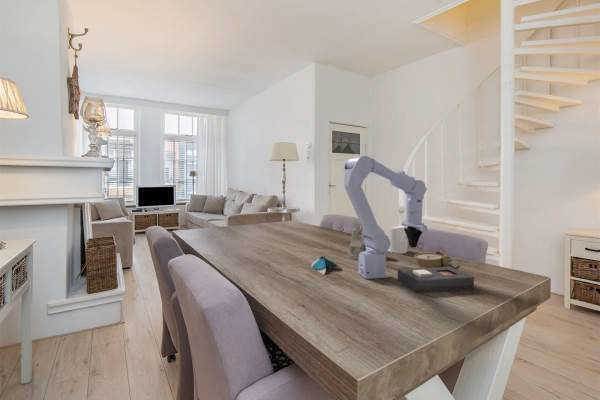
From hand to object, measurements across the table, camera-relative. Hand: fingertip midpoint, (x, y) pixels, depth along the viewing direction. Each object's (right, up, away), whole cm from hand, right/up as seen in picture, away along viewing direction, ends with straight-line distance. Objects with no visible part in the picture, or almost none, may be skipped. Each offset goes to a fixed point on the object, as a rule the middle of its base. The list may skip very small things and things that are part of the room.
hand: (412, 247), depth 115 cm
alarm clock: (+13, -9, +11) cm, 19 cm away
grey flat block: (+2, -10, -14) cm, 18 cm away
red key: (+6, -10, -13) cm, 18 cm away
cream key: (-3, -9, -15) cm, 18 cm away
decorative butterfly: (-34, -10, +3) cm, 35 cm away
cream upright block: (+5, -7, +33) cm, 34 cm away
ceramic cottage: (-13, -8, +22) cm, 27 cm away
